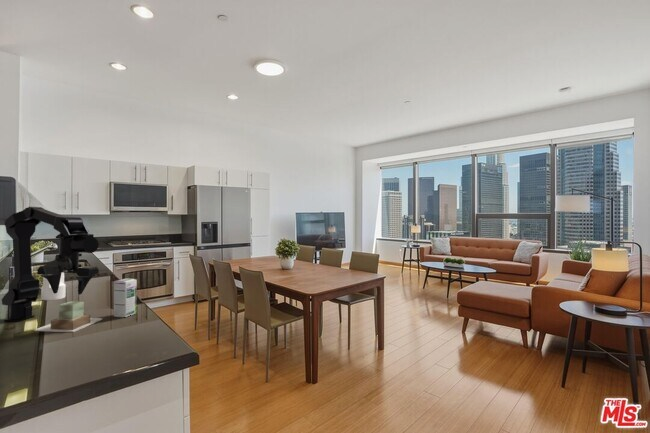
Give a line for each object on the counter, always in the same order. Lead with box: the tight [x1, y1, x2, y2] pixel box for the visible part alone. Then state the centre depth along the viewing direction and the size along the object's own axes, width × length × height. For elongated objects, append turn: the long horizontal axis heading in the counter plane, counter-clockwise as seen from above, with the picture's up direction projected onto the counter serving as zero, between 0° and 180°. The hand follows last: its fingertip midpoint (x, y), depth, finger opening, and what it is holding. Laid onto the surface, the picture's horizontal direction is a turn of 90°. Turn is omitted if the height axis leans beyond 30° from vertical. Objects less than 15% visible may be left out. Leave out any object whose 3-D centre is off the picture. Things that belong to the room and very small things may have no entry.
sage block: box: [58, 300, 85, 320], centre depth 116 cm, size 5×5×5 cm
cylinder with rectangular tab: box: [40, 273, 67, 301], centre depth 155 cm, size 9×9×12 cm
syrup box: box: [113, 278, 138, 318], centre depth 131 cm, size 6×6×14 cm
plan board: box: [33, 313, 103, 333], centre depth 118 cm, size 14×14×4 cm
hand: (67, 293), depth 117 cm, fingers open, 9 cm apart
